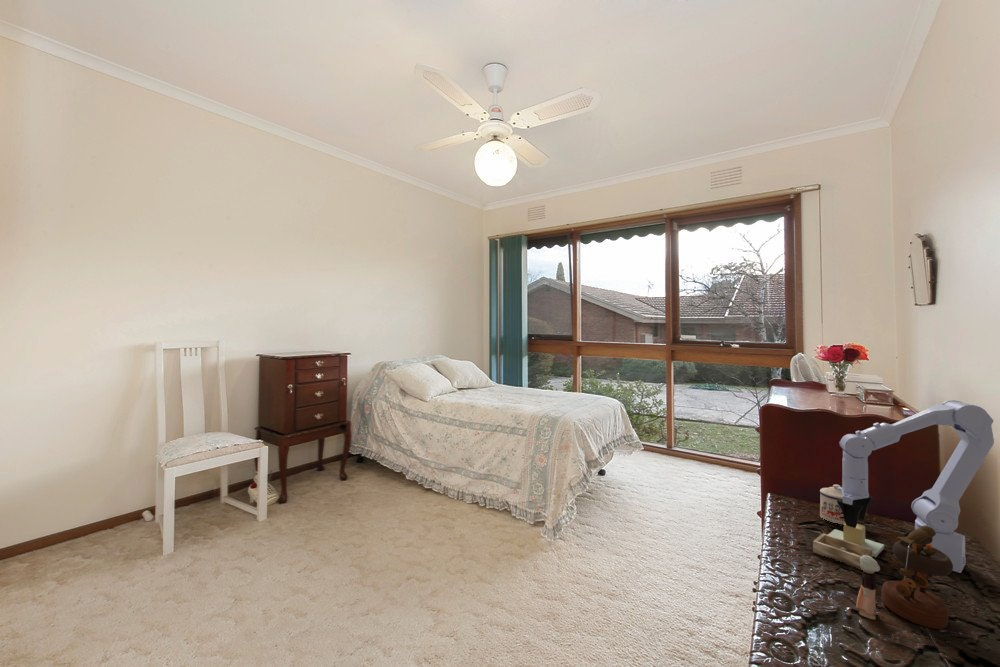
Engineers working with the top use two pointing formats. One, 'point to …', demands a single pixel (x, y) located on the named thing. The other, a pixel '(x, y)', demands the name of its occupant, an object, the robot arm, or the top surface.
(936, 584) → the top surface
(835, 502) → the teacup with lid
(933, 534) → the music box
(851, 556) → the box
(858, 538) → the lid
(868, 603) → the grandmother figurine
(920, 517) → the robot arm
